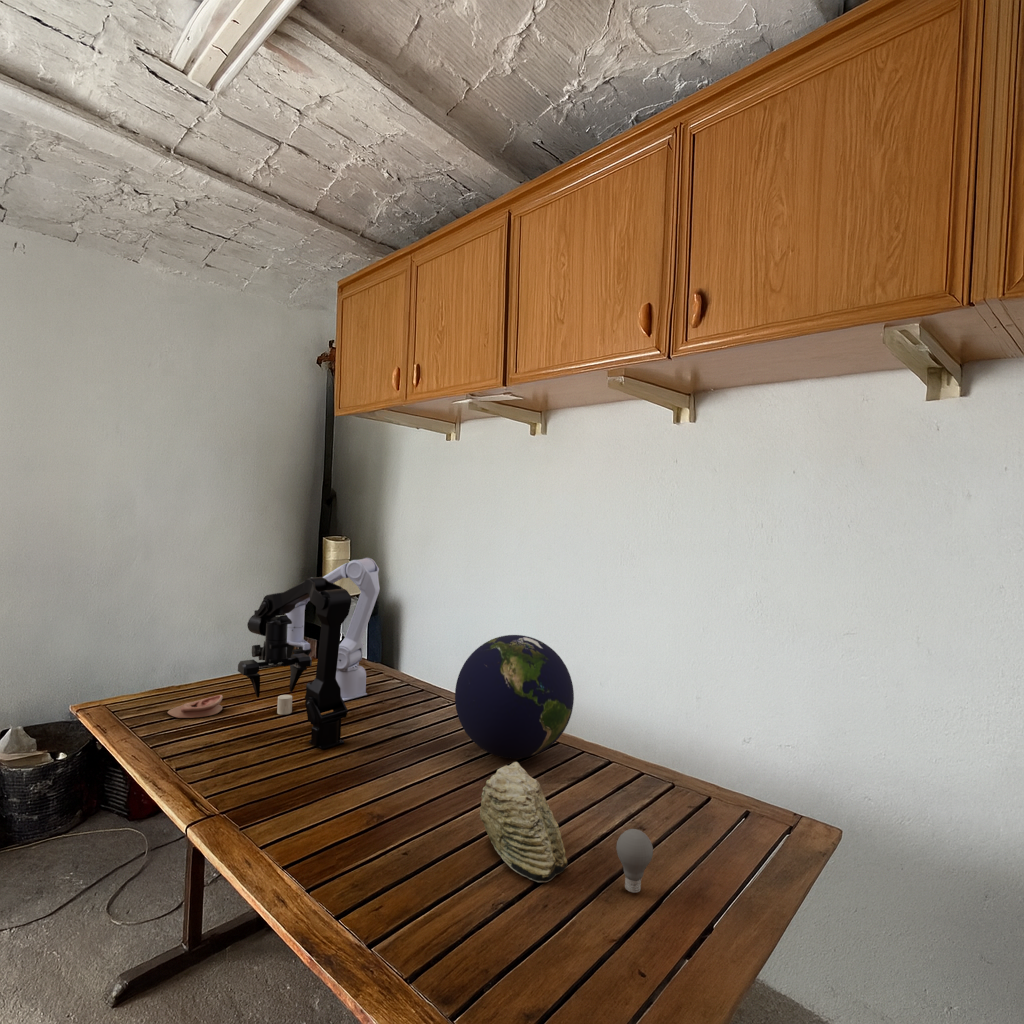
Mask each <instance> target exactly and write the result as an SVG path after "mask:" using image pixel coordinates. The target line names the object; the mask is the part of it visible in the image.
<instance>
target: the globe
mask: <svg viewBox="0 0 1024 1024" xmlns="http://www.w3.org/2000/svg"><path fill="white" fill-rule="evenodd" d="M454 690H455V691H454V703H455V704H454V705H455V710H456V715H457V718H458V720H459V723H460V725H461V727H462V729H463V731H464V732H465V733H466V735H467V736H468V737H469V739H470V740H471V741H472V742H473V743H474V744H475V745H476V746H478V747H479V748H481V749H482V750H483V751H485V752H487V753H488V754H491V755H493V756H495V757H499V758H503V759H509V760H517V759H526V758H530V757H534V756H536V755H538V754H541V753H542V752H544V751H546V750H547V749H549V748H551V747H552V746H553V745H554V744H555V743H556V742H557V741H558V739H560V738H561V736H563V733H564V732H565V730H566V728H567V727H568V724H569V722H570V719H571V717H572V714H573V710H574V709H573V708H574V701H575V692H574V691H575V690H574V684H573V680H572V676H571V673H570V672H569V669H568V666H567V665H566V664H565V662H564V661H563V659H562V658H561V657H560V655H559V654H558V653H557V652H556V651H555V650H554V649H553V648H552V647H550V646H549V645H548V644H546V643H545V642H543V641H541V640H539V639H537V638H534V637H532V636H527V635H522V634H508V635H500V636H497V637H493V638H491V639H490V640H488V641H485V642H484V643H483V644H481V645H479V646H478V647H476V648H475V650H474V651H472V653H471V654H470V655H469V656H468V657H467V659H466V660H465V661H464V663H463V665H462V667H461V668H460V671H459V673H458V676H457V679H456V683H455V689H454Z"/></svg>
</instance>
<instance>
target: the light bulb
mask: <svg viewBox="0 0 1024 1024" xmlns="http://www.w3.org/2000/svg"><path fill="white" fill-rule="evenodd" d="M615 849H616V854H617V857H618V859H619V861H620V863H621V865H622V867H623V873H624V874H623V875H624V876H625V878H624V888H625V890H627V891H628V892H630V893H634V894H635V893H639V892H640V891H641V889H642V887H641V886H642V879H643V877H644V875H645V871H646V868H647V867H648V866H649V864H650V863H651V861H652V859H653V855H654V847H653V843H652V841H651V838H649V836H648V835H647V834H646V833H645V832H643V831H642V830H641V829H636V828H629V829H627V830H625V831H623V832H622V833H621V834H620V835H619V837H618V839H617V841H616V847H615Z"/></svg>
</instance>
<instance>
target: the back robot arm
mask: <svg viewBox="0 0 1024 1024" xmlns="http://www.w3.org/2000/svg"><path fill="white" fill-rule="evenodd" d="M379 571H380V568H379V566H378V565H377V563H376V561H375V560H374V559H372V558H371V557H363V558H360V559H352V560H350V561H349V562H346V563H343V564H341V565H340V566H338V567H336V568H335V569H333V570H331V571H330V572H328V573H327V574H325V575H324V576H322V577H323V578H325V579H326V580H328V581H329V582H331V583H334V584H335V583H336V582H338V581H341V580H342V579H349V580H351V582H352V583H353V584H355V586H357V587H358V590H359V591H360V594H359V596H358V599H357V601H356V604H355V608H354V611H353V614H352V616H351V619H350V622H349V625H348V628H347V631H346V634H345V636H344V638H343V640H342V641H340V643H339V652H338V661H337V671H336V680H337V682H338V684H339V686H340V688H341V697H342V699H343V701H344V702H346V701H350V700H353V699H358V698H361V697H364V696H368V693H367V692H366V691H367V671H366V668H364V667H363V666H362V665H360V662H361V661H362V660H363V656H364V654H363V648H364V642H363V639H364V635H365V633H366V630H367V627H368V624H369V621H370V618H371V615H372V613H373V611H374V607H375V605H376V602H377V599H378V596H379V593H380V590H381V589H380V588H381V587H380V579H379ZM311 578H314V577H311ZM319 593H320V592H319ZM308 602H310V597H309V598H307V599H305V600H303V601H301V602H299V603H297V604H296V605H295V608H294V609H293V610H292V611H291V612H289V613H286V614H285V615H287V616H288V618H289V619H290V620H291V621H292V624H288V632H287V643H289V647H287V658H288V659H289V658H291V656H292V654H300V653H304V654H306V655H308V656H310V654H311V652H312V648H311V643H309V642H308V641H306V639H304V638H305V612H306V611H305V610H306V605H307V604H309V603H308ZM294 648H296V649H294ZM283 667H290V665H287V666H283Z"/></svg>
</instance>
